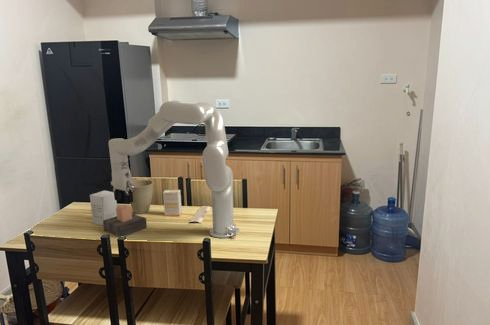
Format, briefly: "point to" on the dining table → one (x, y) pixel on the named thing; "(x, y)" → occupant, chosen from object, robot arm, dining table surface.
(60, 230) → the dining table surface
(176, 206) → the supplement box
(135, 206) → the plant pot
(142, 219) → the black plinth
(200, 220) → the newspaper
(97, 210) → the supplement box
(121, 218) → the terracotta block
